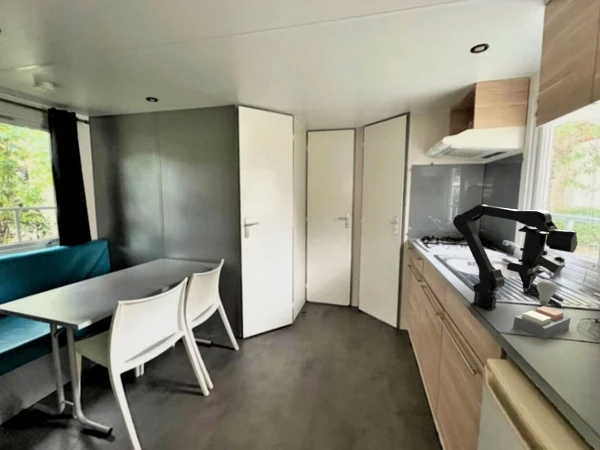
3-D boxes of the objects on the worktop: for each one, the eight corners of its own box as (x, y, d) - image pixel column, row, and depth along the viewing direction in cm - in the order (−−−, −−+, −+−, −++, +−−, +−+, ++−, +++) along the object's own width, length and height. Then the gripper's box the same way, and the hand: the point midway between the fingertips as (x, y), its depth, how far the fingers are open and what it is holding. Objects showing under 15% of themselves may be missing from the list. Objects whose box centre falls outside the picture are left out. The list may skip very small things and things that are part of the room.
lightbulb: (550, 310, 111) (555, 284, 109) (531, 304, 116) (535, 279, 114) (555, 307, 114) (560, 281, 112) (536, 301, 119) (541, 277, 117)
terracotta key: (534, 320, 99) (536, 308, 99) (542, 317, 102) (543, 305, 101) (553, 327, 94) (555, 315, 94) (561, 324, 97) (563, 312, 96)
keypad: (513, 327, 96) (514, 316, 96) (538, 317, 104) (540, 307, 104) (543, 340, 89) (545, 328, 88) (568, 329, 97) (570, 318, 96)
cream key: (520, 325, 96) (522, 313, 95) (529, 322, 98) (531, 310, 97) (540, 333, 91) (542, 320, 90) (549, 330, 93) (551, 317, 93)
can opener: (516, 290, 132) (518, 279, 131) (530, 291, 132) (532, 279, 131) (553, 307, 114) (555, 294, 113) (568, 307, 115) (571, 294, 114)
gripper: (549, 253, 87) (540, 301, 89) (576, 249, 95) (568, 293, 97) (509, 246, 96) (502, 289, 99) (537, 242, 105) (530, 282, 107)
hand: (526, 288), depth 100 cm, fingers closed
